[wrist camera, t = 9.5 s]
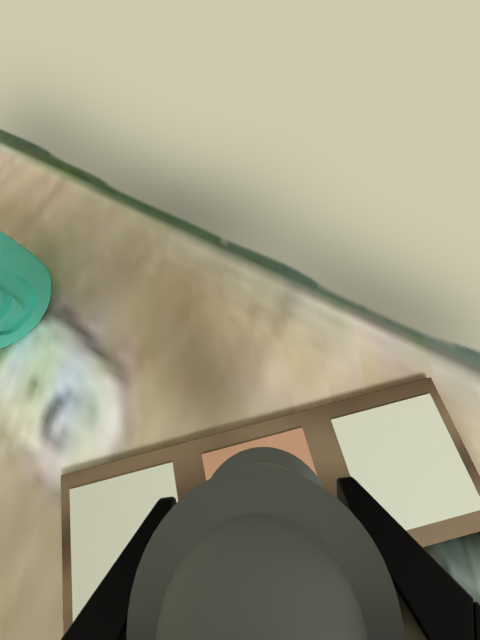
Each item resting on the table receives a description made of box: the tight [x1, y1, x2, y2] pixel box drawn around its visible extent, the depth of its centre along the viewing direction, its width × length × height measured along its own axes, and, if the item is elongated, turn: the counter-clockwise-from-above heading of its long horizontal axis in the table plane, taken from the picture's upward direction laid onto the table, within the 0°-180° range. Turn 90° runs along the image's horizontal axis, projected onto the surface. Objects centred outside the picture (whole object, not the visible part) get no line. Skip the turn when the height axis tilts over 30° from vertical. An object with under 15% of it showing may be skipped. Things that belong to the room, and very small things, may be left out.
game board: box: [61, 377, 480, 634], centre depth 20 cm, size 9×26×1 cm, turn 104°
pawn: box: [126, 447, 405, 640], centre depth 9 cm, size 6×6×12 cm
